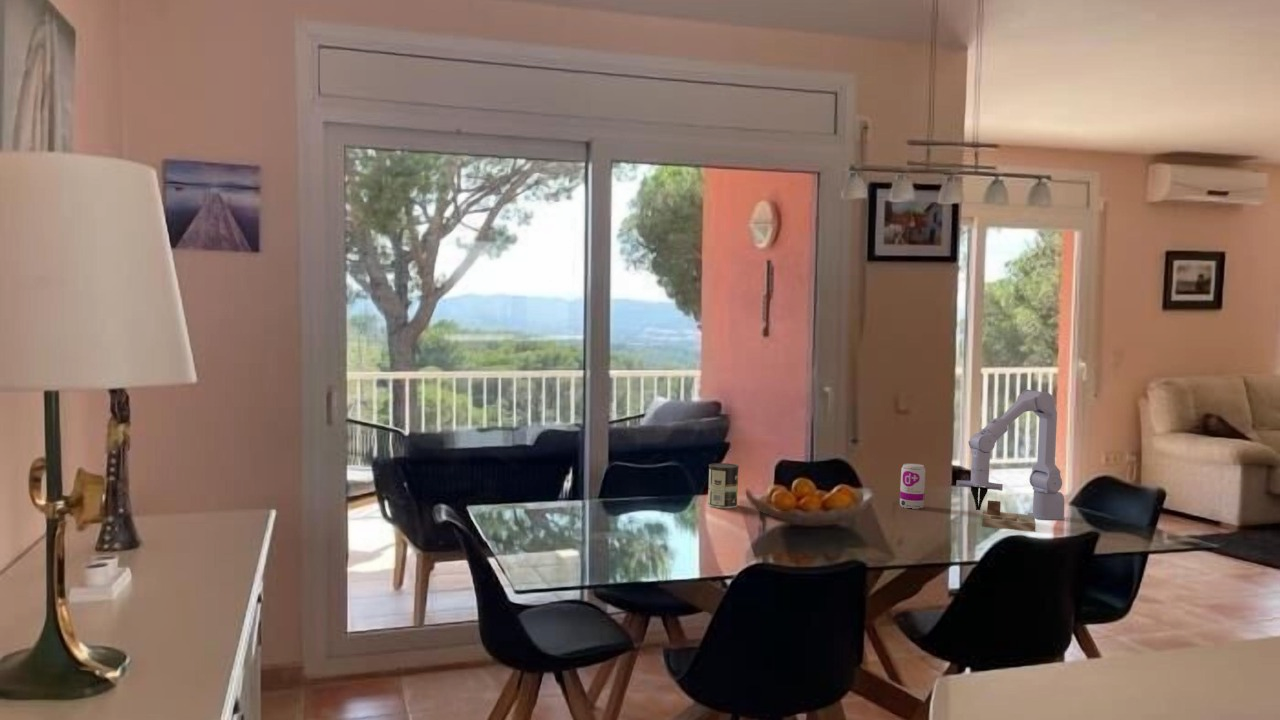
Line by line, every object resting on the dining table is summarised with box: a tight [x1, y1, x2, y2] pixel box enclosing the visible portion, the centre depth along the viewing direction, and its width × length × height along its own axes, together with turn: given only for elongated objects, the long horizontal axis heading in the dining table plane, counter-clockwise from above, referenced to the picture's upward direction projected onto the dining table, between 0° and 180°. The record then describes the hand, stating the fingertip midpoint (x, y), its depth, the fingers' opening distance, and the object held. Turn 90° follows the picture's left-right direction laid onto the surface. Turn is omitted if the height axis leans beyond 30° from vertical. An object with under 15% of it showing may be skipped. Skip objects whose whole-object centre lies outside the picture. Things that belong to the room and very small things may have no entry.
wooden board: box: [981, 510, 1036, 532], centre depth 314 cm, size 16×14×2 cm
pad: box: [1017, 513, 1036, 521], centre depth 315 cm, size 5×8×2 cm, turn 159°
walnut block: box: [986, 500, 1001, 516], centre depth 318 cm, size 4×4×4 cm
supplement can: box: [899, 463, 927, 510], centre depth 337 cm, size 8×8×15 cm
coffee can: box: [707, 462, 739, 510], centre depth 329 cm, size 10×10×14 cm
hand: (978, 509), depth 320 cm, fingers closed
